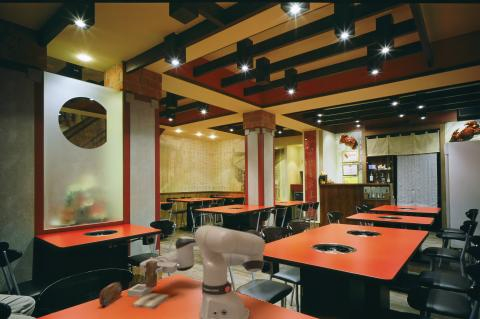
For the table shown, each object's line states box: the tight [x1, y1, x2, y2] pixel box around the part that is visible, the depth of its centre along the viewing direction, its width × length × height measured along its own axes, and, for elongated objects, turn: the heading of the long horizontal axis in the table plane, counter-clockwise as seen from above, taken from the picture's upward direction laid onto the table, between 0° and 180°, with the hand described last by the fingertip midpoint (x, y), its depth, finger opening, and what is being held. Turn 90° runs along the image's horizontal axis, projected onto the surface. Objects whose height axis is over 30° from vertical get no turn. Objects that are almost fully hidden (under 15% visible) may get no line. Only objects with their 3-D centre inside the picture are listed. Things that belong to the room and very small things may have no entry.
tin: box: [98, 281, 123, 307], centre depth 143 cm, size 15×3×8 cm, turn 168°
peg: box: [145, 261, 158, 289], centre depth 144 cm, size 4×4×12 cm
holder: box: [127, 283, 153, 298], centre depth 153 cm, size 9×9×3 cm
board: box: [131, 292, 170, 310], centre depth 142 cm, size 12×14×1 cm
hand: (150, 271), depth 143 cm, fingers closed on peg, 4 cm apart
